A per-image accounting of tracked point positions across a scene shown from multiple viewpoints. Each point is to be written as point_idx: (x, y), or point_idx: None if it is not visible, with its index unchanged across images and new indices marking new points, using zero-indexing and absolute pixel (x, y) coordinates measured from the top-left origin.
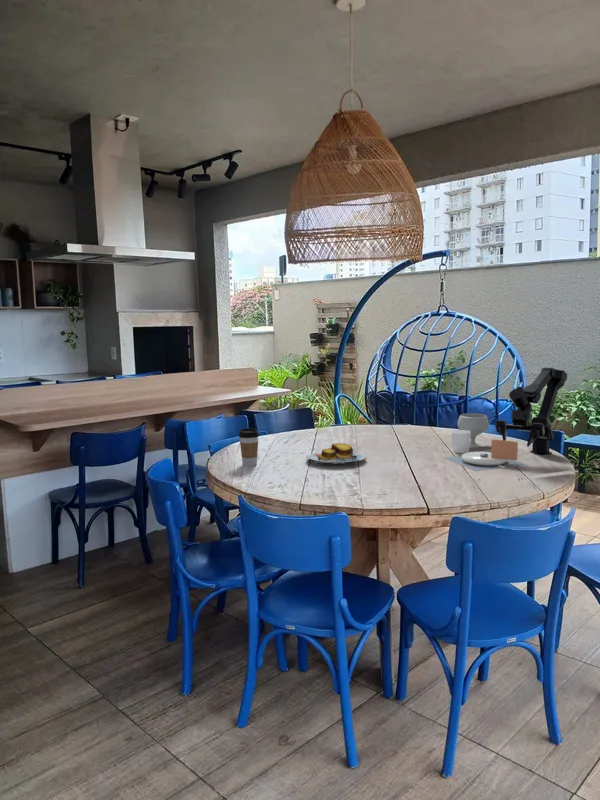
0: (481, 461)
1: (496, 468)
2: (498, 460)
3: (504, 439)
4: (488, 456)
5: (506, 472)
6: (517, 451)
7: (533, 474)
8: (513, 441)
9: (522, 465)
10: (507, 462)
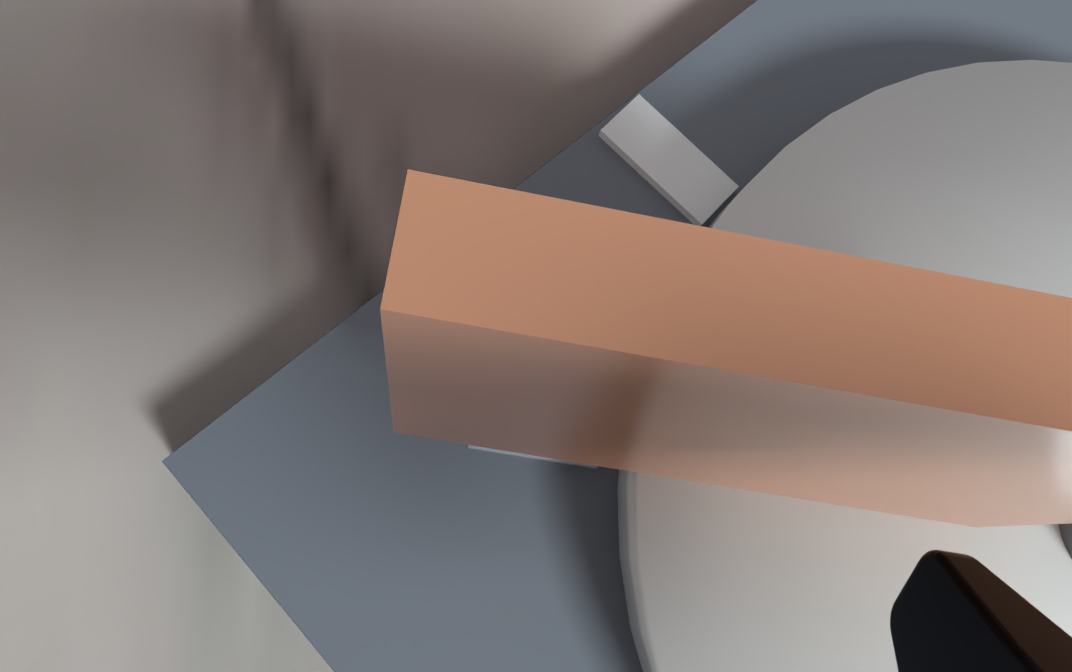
0: (1058, 66)
1: (735, 34)
2: (784, 234)
3: (1050, 668)
4: (1057, 562)
5: (554, 50)
6: (390, 391)
7: (87, 28)
8: (584, 285)
9: (278, 403)
10: (607, 580)
